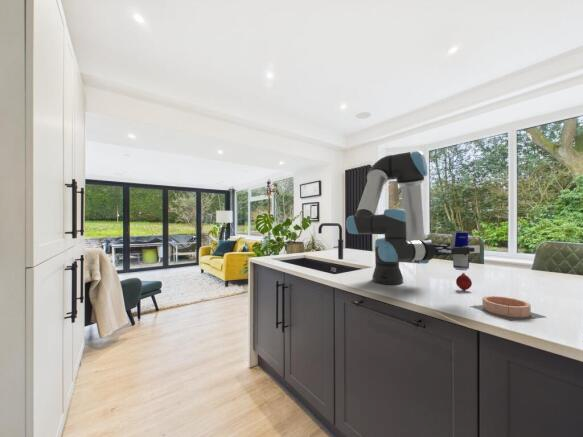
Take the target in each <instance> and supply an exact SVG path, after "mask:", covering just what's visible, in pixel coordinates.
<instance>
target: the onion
mask: <svg viewBox="0 0 583 437" xmlns="http://www.w3.org/2000/svg"><path fill="white" fill-rule="evenodd" d="M455 284H456V286H457V287H458V288H459V289H460V290H462V292H463V291H466V290H469V289H471V287H472V285H473V283H472V280H471V278H470V277H469V276H468V275H466V273H465V272H462V273H461V274H460V275H459V276H457V278H456V279H455Z"/></svg>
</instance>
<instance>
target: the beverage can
mask: <svg viewBox="0 0 583 437" xmlns="http://www.w3.org/2000/svg"><path fill="white" fill-rule="evenodd" d="M451 235H452V236H451V237H452V245H453V247H463V246H469V234H468V231H463V230H455V231H452V233H451ZM469 255H470V254H467V255H464V254H455V255H452V266H453V269H455V270H456V271H468V270H469V269H470V262H469V261H470V257H469Z"/></svg>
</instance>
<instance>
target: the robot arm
mask: <svg viewBox="0 0 583 437" xmlns="http://www.w3.org/2000/svg"><path fill="white" fill-rule="evenodd" d="M428 174H429V173H428V166H427V161H426V157H425V155H424V153H423V152H422V151H420V150H416V151H414V150H413V151H407V152H402V153H396V154H389V155H385V156H383V157H381V158H380V159H378V160H377V161H376V162H375V163H374V164H373V165H372V166H371V167H370V168H369V171H368V173H367V175H366V180H367V181H366V184H365V186H364V190H363V193H362V196H361V198H360V201H359V203H358V207H357V209H356V213H355V215H354V214H353V215H349V216H348V217H347V218H346V221H345V227H346V230H347V232H348V234H352V235H384V237H379V238H377V239H375V242H374V256H375V258H374V259H375V260H374V261H375V266H374V270H373V273H372V282H374V283H376V282H377V283H376V284H381V283H382V285H400V284H403V283H404V277H403V274H402V271H401V269H400V263H408V264H428V263H429V262H430V260H433V258H435V256H439V257H440V256H453V255H455V254H464V255H467V254H469V255H470V254H481V250H480V248H481V246H480V245H468V246H463V247H453V244H451V243H450V242H447V243H446V244H434V243H433V241H432V240H431V239H429V237H428V235H427V234H426V233H425V229H424V228H425V227H424V226H425V225H424V215H423V214H424V212H423V199H422V197H423V196H422V183H423V182H424V181H425V177H427V176H428ZM392 180H396V184H397V185H399V186H400V193H401V195H400V196H401V205H402V208H387V209H384V212H383V213H381V214H376V212H377V208H378V205H379V202H380V199H381V196H382V192H383V189H384V187H385V185H386V184H387V183H388V181H392Z"/></svg>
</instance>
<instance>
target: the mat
mask: <svg viewBox="0 0 583 437" xmlns="http://www.w3.org/2000/svg"><path fill="white" fill-rule="evenodd" d="M469 307H470V308H473V309H476V310H479V311H481V312H484V313H487V314H490V315H492V316H496V317H497V318H501V319H503V320H506V321H509V322H514V321H515V322H517V321H524V320H534V319H541V318H547V316H545V315H541V314H538V313H535V312H532V311H531V313H530V317H527V318H513V317H506V316H501V315H497V314H493V313H490V312H488V311H486V310H484V308H483V304H482V305H481V304H480V305H470V306H469Z"/></svg>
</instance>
